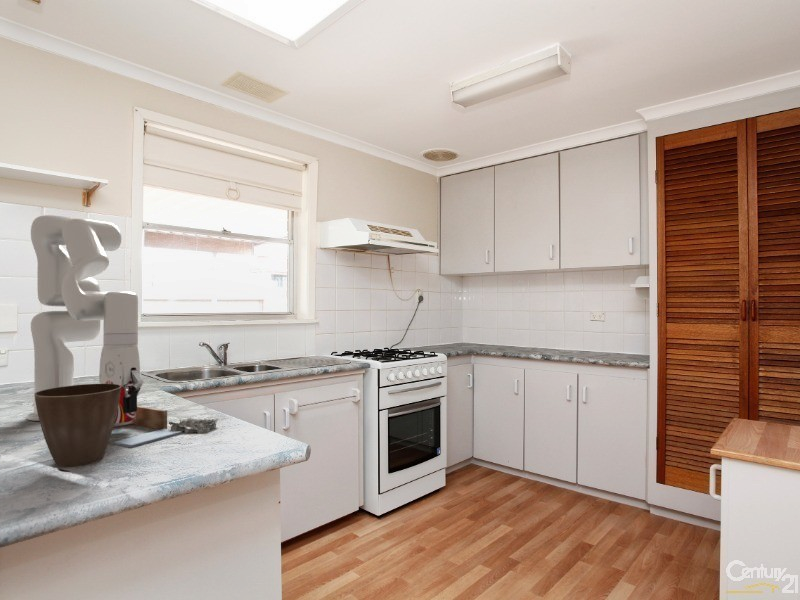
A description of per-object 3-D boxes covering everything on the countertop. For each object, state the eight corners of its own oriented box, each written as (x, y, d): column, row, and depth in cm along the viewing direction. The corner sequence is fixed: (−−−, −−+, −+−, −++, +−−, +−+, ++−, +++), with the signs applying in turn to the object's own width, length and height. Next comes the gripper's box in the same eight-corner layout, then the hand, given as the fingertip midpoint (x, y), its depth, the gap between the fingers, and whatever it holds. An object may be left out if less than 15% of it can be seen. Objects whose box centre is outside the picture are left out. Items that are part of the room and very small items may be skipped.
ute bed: (68, 441, 116) (68, 415, 116) (130, 426, 130) (131, 403, 130) (109, 451, 108) (109, 422, 108) (171, 434, 123) (171, 409, 123)
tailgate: (114, 441, 110) (131, 445, 107) (164, 428, 122) (181, 431, 119) (114, 446, 110) (131, 450, 107) (164, 432, 122) (181, 435, 119)
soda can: (121, 427, 115) (122, 378, 115) (97, 426, 117) (97, 377, 117) (142, 420, 122) (143, 374, 122) (119, 419, 124) (119, 373, 124)
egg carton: (165, 438, 120) (165, 421, 120) (184, 430, 128) (184, 415, 128) (204, 439, 118) (204, 423, 119) (220, 431, 126) (220, 416, 126)
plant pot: (22, 484, 88) (23, 398, 89) (45, 460, 102) (46, 386, 102) (115, 472, 94) (115, 392, 95) (125, 451, 108) (125, 381, 108)
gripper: (85, 340, 120) (84, 410, 120) (128, 342, 112) (127, 417, 112) (114, 338, 127) (114, 404, 127) (156, 340, 119) (156, 411, 119)
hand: (120, 410), depth 119 cm, fingers closed on soda can, 7 cm apart
